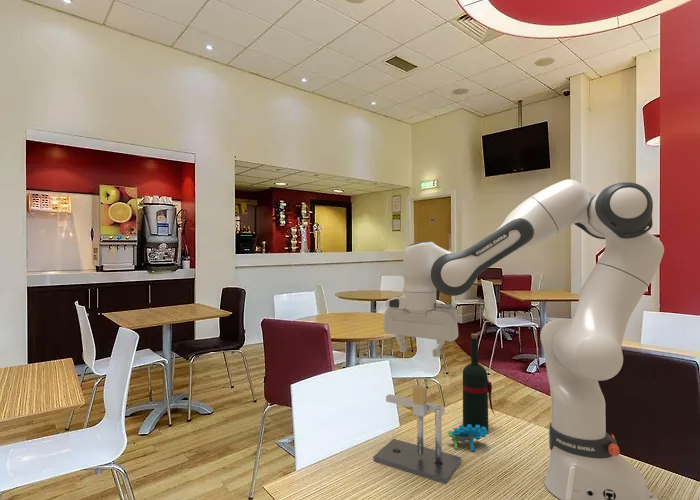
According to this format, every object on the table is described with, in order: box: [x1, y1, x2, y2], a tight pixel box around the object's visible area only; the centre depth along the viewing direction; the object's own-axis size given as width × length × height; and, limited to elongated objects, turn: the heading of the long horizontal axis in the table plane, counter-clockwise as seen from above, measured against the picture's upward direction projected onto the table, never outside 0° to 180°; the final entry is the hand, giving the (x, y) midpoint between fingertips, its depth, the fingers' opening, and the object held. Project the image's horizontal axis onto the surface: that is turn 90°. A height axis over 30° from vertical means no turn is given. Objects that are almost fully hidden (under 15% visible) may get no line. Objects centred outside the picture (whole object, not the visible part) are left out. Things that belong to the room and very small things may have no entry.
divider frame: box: [385, 393, 446, 465], centre depth 107 cm, size 17×4×14 cm, turn 57°
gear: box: [447, 424, 489, 452], centre depth 112 cm, size 11×6×10 cm
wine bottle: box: [462, 333, 496, 435], centre depth 124 cm, size 8×10×30 cm
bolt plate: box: [373, 438, 462, 485], centre depth 105 cm, size 20×12×1 cm, turn 57°
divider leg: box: [412, 385, 428, 456], centre depth 105 cm, size 3×2×18 cm
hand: (419, 353), depth 105 cm, fingers open, 8 cm apart
